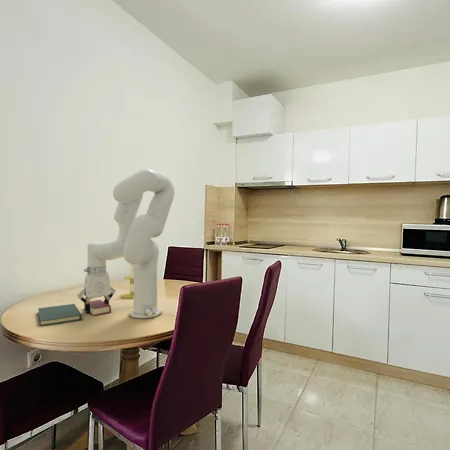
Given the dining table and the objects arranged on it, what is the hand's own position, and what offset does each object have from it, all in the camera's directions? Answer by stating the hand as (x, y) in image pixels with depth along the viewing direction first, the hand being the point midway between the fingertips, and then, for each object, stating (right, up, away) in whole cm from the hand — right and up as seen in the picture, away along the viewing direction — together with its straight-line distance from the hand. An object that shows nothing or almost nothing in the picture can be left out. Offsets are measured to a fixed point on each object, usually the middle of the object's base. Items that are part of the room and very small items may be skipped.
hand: (97, 310), depth 141 cm
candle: (+8, 0, +27) cm, 28 cm away
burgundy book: (0, 0, 0) cm, 0 cm away
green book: (-12, 0, -8) cm, 15 cm away
